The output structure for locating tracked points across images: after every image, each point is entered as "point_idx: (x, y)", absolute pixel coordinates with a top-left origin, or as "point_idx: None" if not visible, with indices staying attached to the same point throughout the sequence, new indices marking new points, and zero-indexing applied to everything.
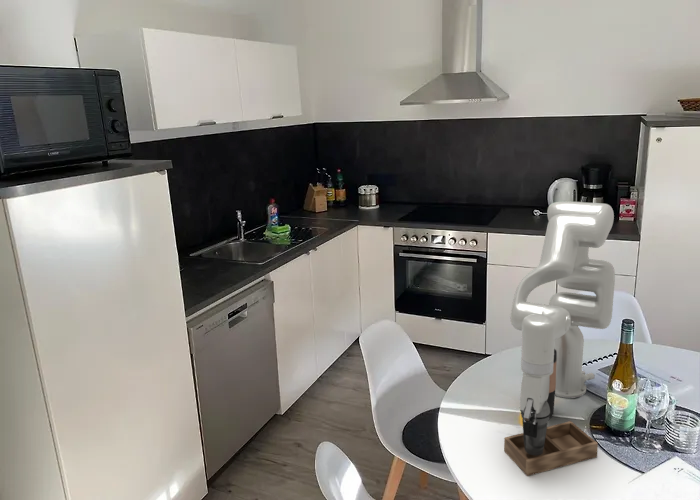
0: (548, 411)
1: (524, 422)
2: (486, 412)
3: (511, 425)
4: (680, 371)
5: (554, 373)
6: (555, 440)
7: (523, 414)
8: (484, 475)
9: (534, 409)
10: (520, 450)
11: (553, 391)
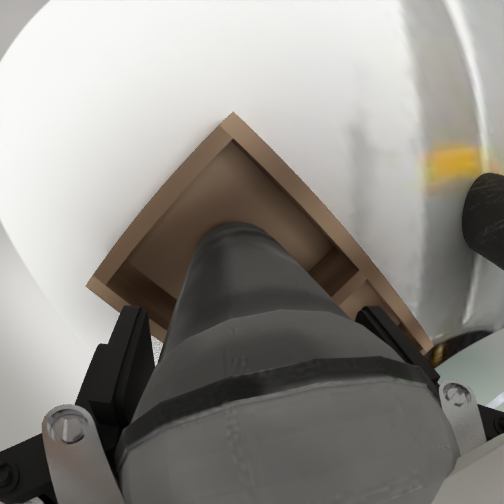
0: None
1: (93, 387)
2: (446, 32)
3: (415, 121)
4: None
5: None
6: (362, 297)
7: (131, 427)
8: (39, 108)
9: None
10: (249, 189)
11: None
